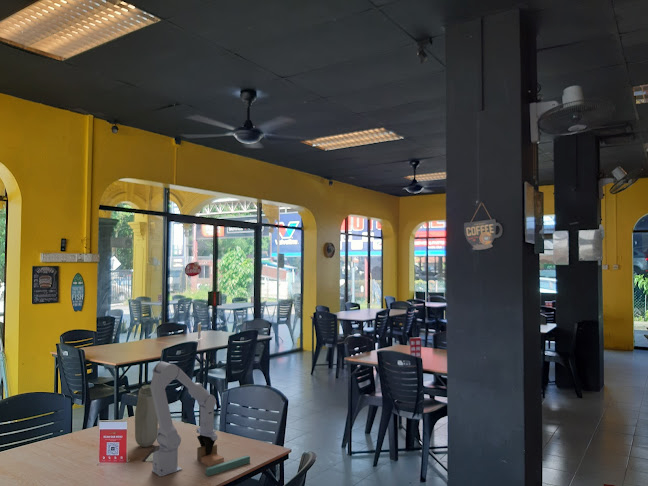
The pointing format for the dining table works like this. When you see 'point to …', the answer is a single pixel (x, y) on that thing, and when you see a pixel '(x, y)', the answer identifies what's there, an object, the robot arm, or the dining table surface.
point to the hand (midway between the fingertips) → (206, 453)
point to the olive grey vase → (145, 418)
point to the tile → (212, 459)
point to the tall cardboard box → (202, 451)
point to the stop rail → (227, 465)
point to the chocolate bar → (151, 454)
